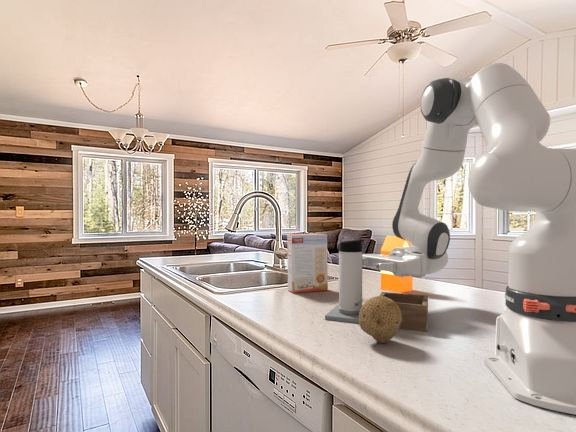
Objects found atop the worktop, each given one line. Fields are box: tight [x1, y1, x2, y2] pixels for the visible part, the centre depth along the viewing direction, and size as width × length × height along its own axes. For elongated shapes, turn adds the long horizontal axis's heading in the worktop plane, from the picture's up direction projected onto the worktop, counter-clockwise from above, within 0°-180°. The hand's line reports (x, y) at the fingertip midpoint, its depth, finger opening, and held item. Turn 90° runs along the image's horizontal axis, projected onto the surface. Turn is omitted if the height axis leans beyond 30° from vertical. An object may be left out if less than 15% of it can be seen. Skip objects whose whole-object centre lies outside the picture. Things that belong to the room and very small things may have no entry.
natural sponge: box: [358, 295, 402, 344], centre depth 76 cm, size 9×9×10 cm
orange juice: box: [380, 235, 414, 294], centre depth 133 cm, size 8×9×20 cm
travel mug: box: [338, 238, 364, 315], centre depth 97 cm, size 6×7×20 cm
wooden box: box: [378, 291, 429, 332], centre depth 92 cm, size 12×12×6 cm
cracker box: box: [286, 233, 329, 294], centre depth 131 cm, size 14×6×21 cm, turn 108°
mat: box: [324, 304, 359, 324], centre depth 97 cm, size 12×11×1 cm
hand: (366, 264), depth 100 cm, fingers open, 8 cm apart
